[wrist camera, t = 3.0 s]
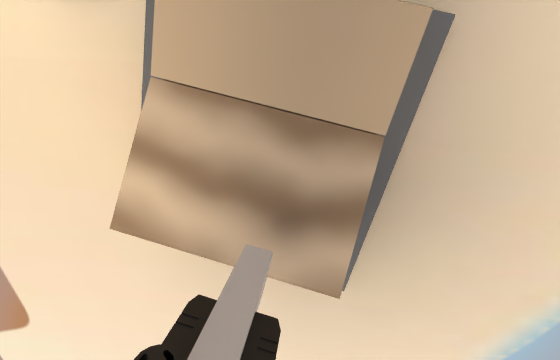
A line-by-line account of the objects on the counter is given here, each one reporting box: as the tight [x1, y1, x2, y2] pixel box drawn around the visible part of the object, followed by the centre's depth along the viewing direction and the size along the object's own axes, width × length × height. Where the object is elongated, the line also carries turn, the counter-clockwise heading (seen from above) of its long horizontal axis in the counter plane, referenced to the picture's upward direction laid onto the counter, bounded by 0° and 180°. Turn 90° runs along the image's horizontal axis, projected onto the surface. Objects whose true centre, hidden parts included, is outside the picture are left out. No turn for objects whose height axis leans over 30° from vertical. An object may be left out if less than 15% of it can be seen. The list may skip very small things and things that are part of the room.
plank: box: [110, 77, 385, 299], centre depth 21 cm, size 12×18×2 cm, turn 77°
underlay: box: [141, 0, 455, 291], centre depth 22 cm, size 24×22×3 cm
